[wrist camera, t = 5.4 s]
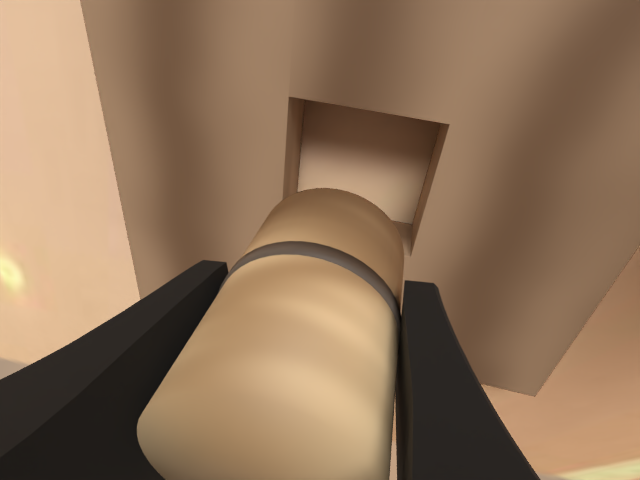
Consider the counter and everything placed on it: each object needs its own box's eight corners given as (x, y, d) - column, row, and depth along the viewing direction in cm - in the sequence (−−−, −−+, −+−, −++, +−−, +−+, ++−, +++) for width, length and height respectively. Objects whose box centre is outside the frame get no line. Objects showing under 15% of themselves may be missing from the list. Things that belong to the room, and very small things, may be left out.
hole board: (794, -91, 11) (881, -106, 9) (524, 355, 21) (535, 396, 19) (102, -162, 13) (42, -186, 11) (165, 271, 23) (140, 300, 21)
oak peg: (411, 189, 10) (397, 416, 5) (402, 316, 12) (386, 559, 7) (248, 183, 10) (94, 369, 6) (269, 302, 13) (171, 510, 8)
